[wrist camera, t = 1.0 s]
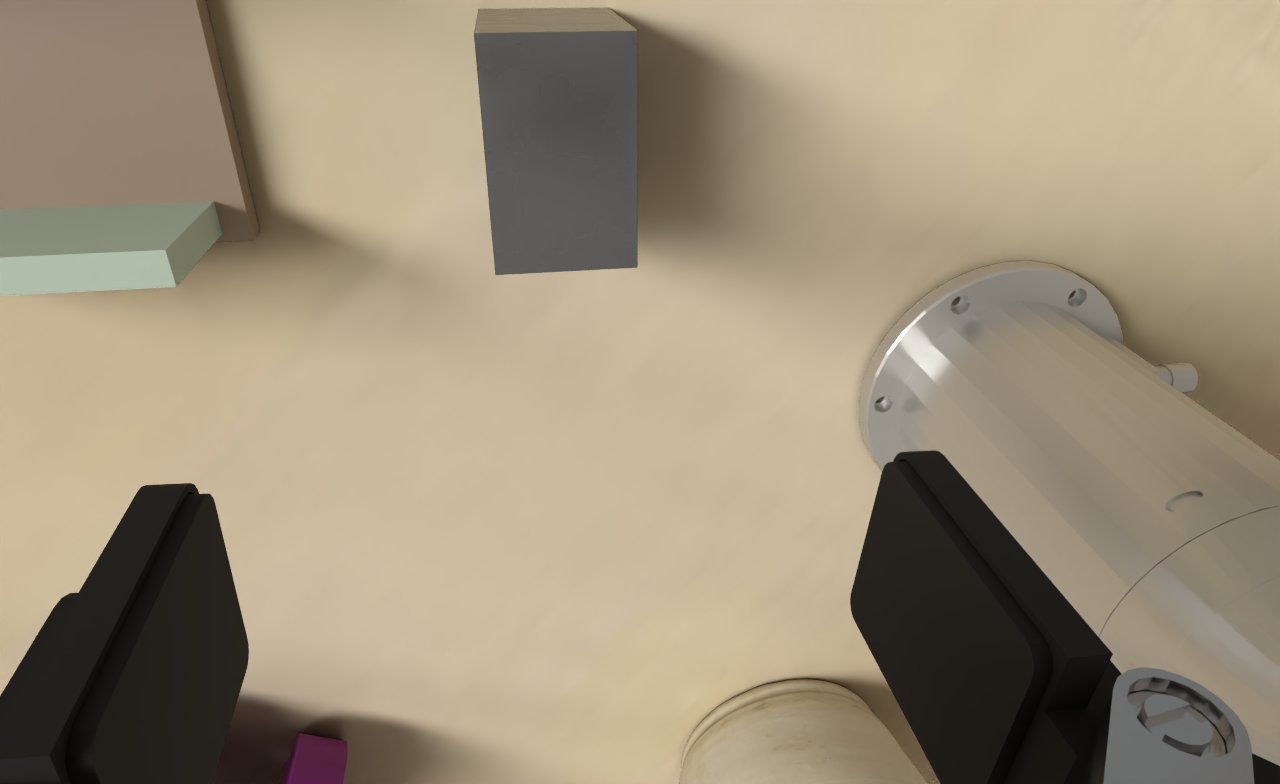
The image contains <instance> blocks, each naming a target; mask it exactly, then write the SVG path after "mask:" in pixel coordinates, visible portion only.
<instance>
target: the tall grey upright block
mask: <svg viewBox="0 0 1280 784" xmlns="http://www.w3.org/2000/svg"><path fill="white" fill-rule="evenodd" d="M474 39H475V50H476V62H477V73H478V84H479V95H480V106H481V118H482V129H483V140H484V151H485V163H486V174H487V185H488V196H489V207H490V219H491V230H492V241H493V252H494V263H495V275H504V274H523V273H542V272H561V271H580V270H599V269H617V268H636V267H637V218H638V30H636V29H635V28H634V27H632V26H631V25H630V24H629V23H627V22H626V21H625V20H624V19H622V18H621V17H620V16H618V15H617V14H616V13H615V12H613V11H612V10H611V9H609V8H530V9H478V13H477V19H476V24H475V30H474Z"/></svg>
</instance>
